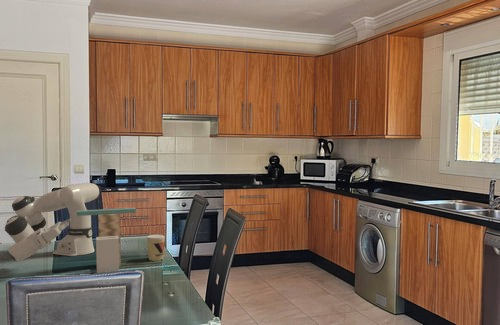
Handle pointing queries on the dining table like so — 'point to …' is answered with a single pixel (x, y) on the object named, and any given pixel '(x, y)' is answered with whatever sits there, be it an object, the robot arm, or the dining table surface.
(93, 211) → the teal board
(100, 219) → the birch stand
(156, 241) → the coffee cup
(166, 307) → the dining table surface
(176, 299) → the dining table surface
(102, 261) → the grey slot box
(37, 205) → the robot arm
